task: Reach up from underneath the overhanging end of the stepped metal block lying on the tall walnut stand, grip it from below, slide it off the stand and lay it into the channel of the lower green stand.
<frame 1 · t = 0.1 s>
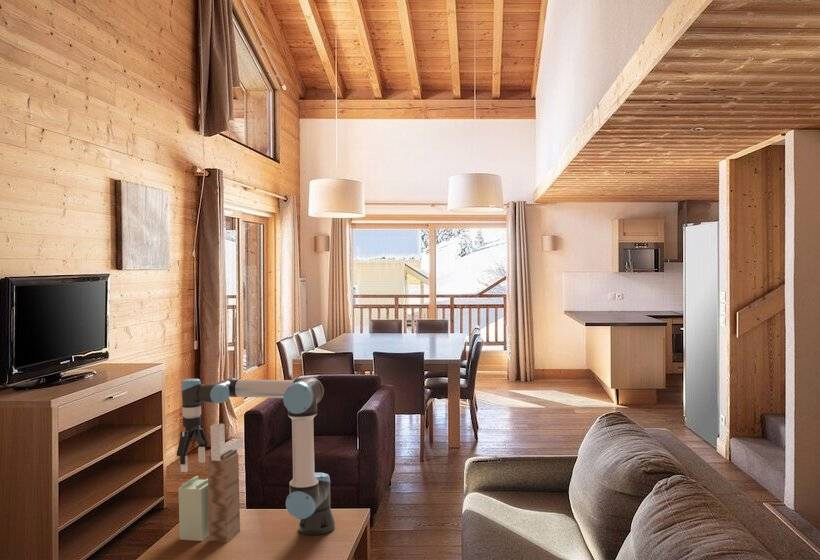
hand: (193, 467, 271), 28 cm above the table, tool pointing down, fingers open, 13 cm apart
walnut stand: (225, 536, 268), on the table
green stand: (198, 534, 270), on the table
stepped metal block: (227, 453, 271), point 33 cm above the table, touching walnut stand
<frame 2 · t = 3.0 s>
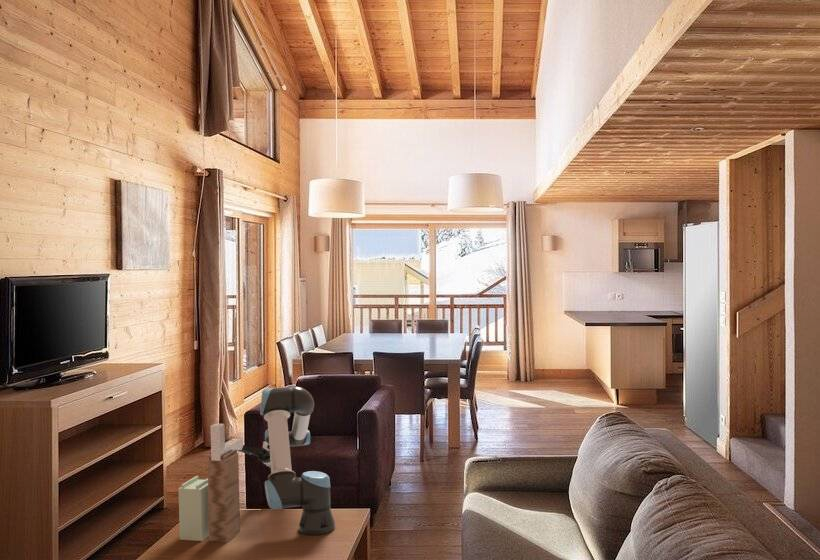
hand: (249, 443, 292), 32 cm above the table, tool pointing upward, fingers open, 13 cm apart
nothing on the table moved.
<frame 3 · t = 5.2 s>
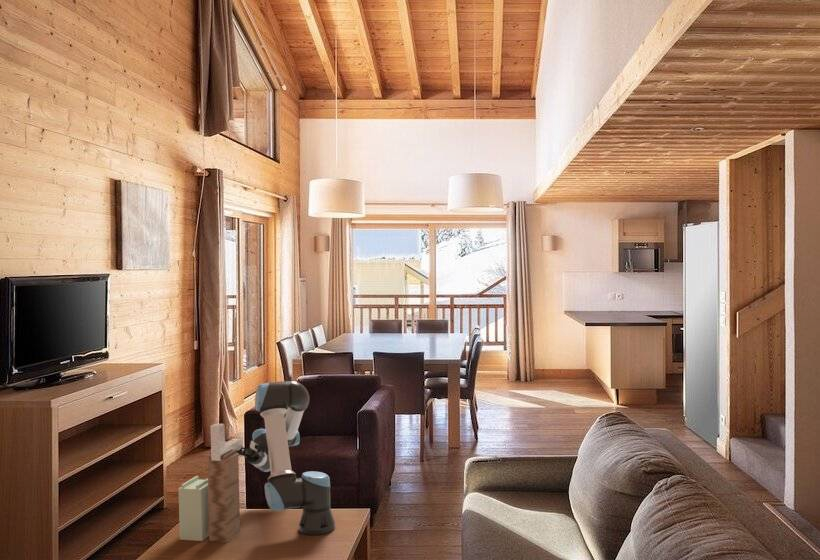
hand: (236, 443, 280), 35 cm above the table, tool pointing upward, fingers open, 13 cm apart
nothing on the table moved.
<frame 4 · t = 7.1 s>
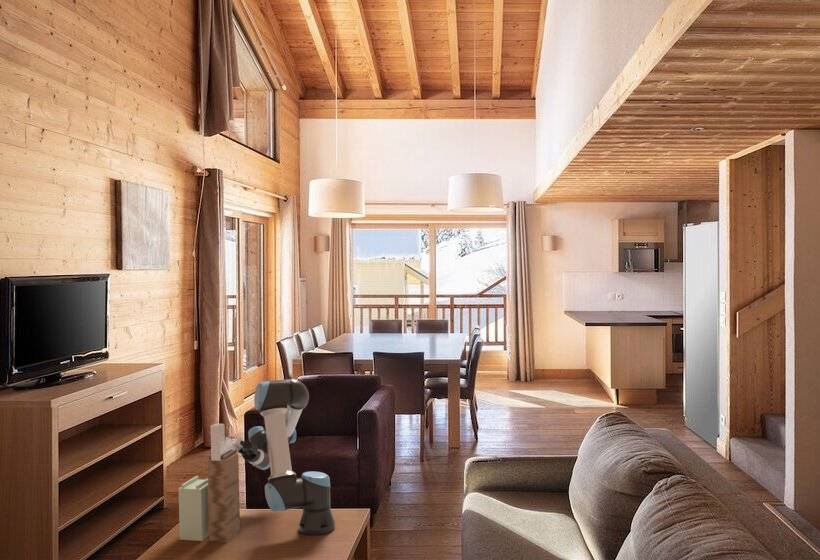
hand: (231, 440, 275), 38 cm above the table, tool pointing upward, fingers closed on stepped metal block, 4 cm apart
stepped metal block: (227, 453, 271), point 33 cm above the table, touching gripper, walnut stand
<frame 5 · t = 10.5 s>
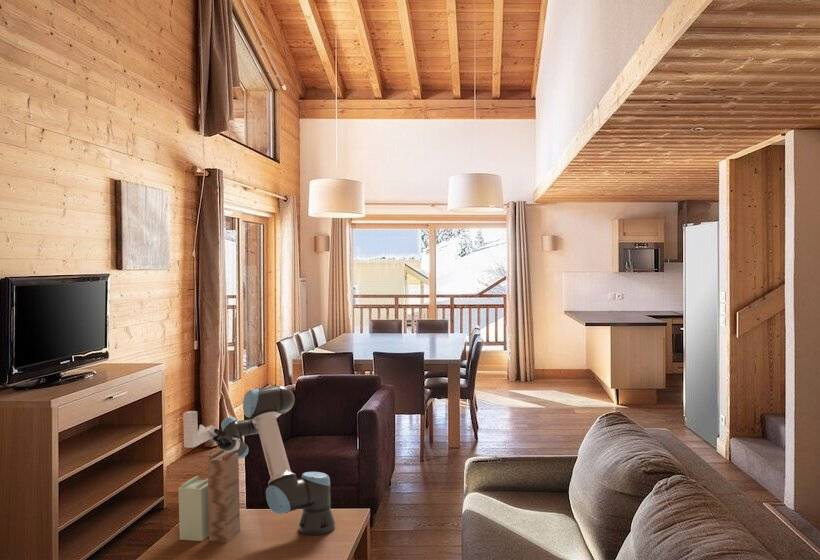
hand: (205, 427, 277), 43 cm above the table, tool pointing upward, fingers closed on stepped metal block, 4 cm apart
stepped metal block: (201, 441, 274), point 38 cm above the table, touching gripper
when the fingers open (27 cm above the table, at t = 13.8 s): stepped metal block stays where it is, resting on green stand.
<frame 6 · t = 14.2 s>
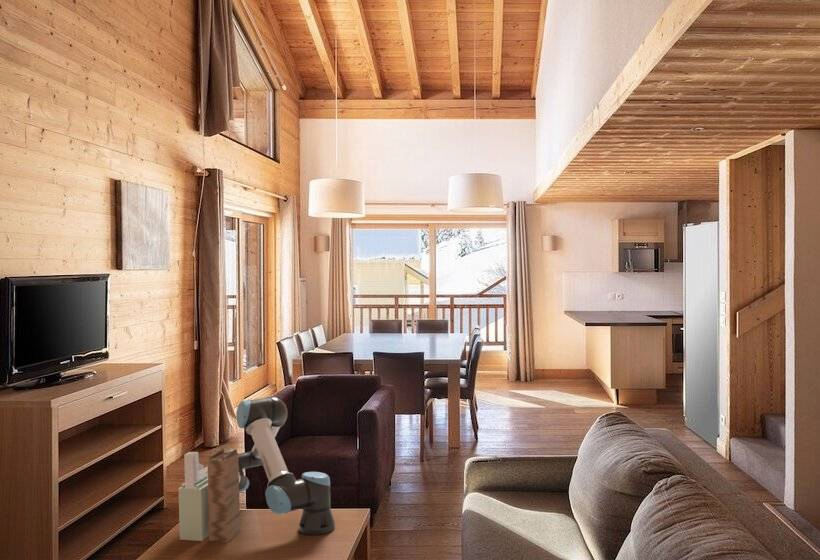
hand: (207, 465, 278), 26 cm above the table, tool pointing upward, fingers open, 10 cm apart
stepped metal block: (202, 481, 274), point 21 cm above the table, touching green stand
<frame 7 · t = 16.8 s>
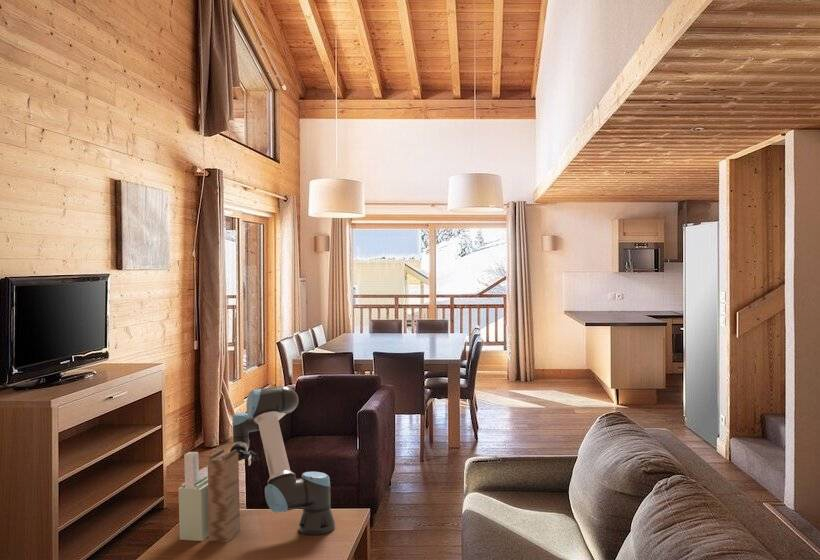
hand: (233, 463, 286), 25 cm above the table, tool horizontal, fingers open, 13 cm apart
nothing on the table moved.
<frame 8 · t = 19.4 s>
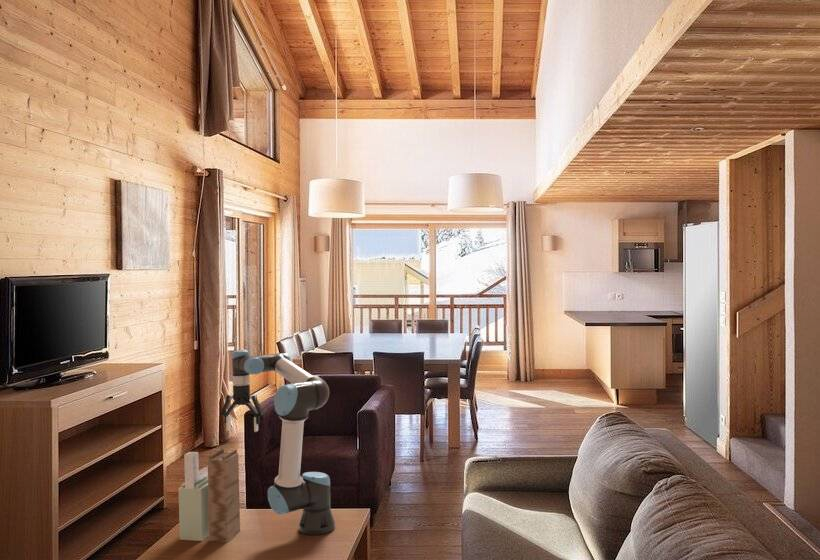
hand: (242, 430, 296), 37 cm above the table, tool pointing down, fingers open, 13 cm apart
nothing on the table moved.
at the end: stepped metal block inside the target area (0.6 cm from its centre), point 21.0 cm above the table; the gripper is holding nothing; stepped metal block touching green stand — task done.
